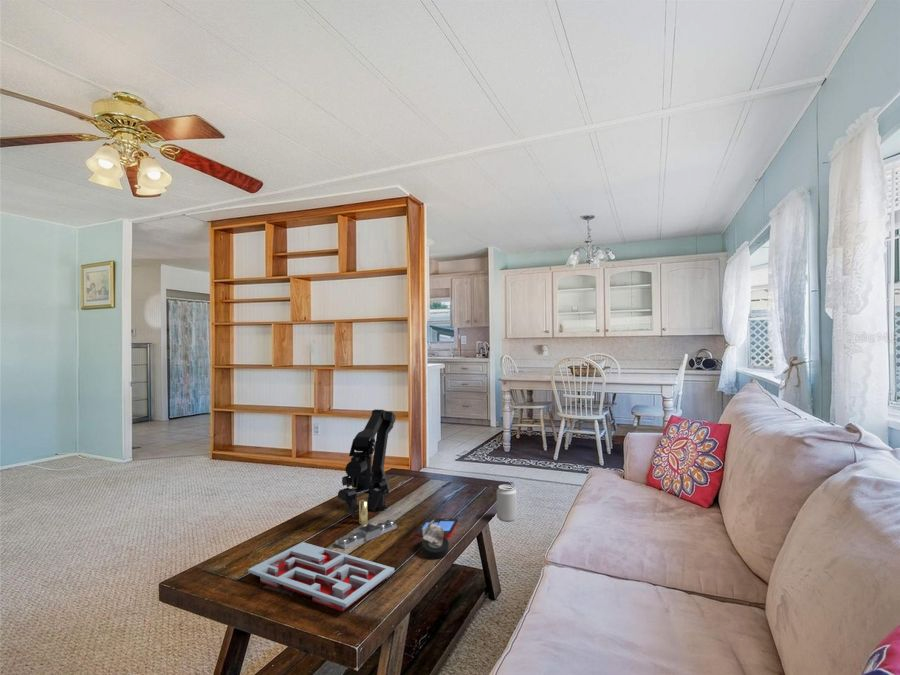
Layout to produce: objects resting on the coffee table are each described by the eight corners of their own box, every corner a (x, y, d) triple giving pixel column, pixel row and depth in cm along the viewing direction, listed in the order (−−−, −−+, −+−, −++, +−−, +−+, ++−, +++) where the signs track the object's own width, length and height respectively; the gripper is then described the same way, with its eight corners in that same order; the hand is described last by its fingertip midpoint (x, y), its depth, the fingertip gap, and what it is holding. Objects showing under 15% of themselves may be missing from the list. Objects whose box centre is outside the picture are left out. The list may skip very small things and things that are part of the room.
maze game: (394, 579, 121) (394, 568, 122) (346, 617, 104) (346, 604, 104) (302, 552, 138) (302, 541, 138) (247, 581, 121) (247, 569, 121)
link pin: (364, 520, 163) (364, 499, 163) (369, 523, 161) (369, 500, 161) (357, 523, 160) (357, 501, 161) (362, 525, 158) (362, 502, 159)
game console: (426, 521, 164) (426, 515, 164) (459, 524, 161) (459, 518, 161) (414, 537, 150) (414, 530, 150) (450, 541, 147) (450, 534, 147)
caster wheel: (439, 569, 132) (412, 556, 137) (458, 547, 141) (432, 535, 146) (439, 549, 130) (412, 537, 136) (458, 529, 140) (432, 518, 145)
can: (510, 524, 160) (510, 490, 160) (492, 519, 164) (492, 487, 165) (520, 518, 166) (520, 486, 166) (503, 513, 170) (503, 482, 170)
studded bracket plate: (387, 523, 160) (387, 516, 160) (398, 528, 156) (398, 520, 156) (333, 544, 143) (333, 536, 143) (344, 550, 139) (344, 542, 139)
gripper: (369, 461, 173) (369, 501, 173) (329, 471, 159) (328, 515, 159) (388, 466, 166) (388, 508, 166) (347, 477, 152) (347, 523, 152)
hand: (363, 513), depth 161 cm, fingers open, 9 cm apart
